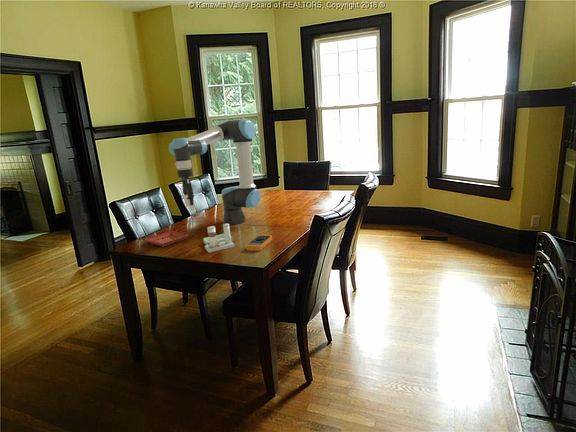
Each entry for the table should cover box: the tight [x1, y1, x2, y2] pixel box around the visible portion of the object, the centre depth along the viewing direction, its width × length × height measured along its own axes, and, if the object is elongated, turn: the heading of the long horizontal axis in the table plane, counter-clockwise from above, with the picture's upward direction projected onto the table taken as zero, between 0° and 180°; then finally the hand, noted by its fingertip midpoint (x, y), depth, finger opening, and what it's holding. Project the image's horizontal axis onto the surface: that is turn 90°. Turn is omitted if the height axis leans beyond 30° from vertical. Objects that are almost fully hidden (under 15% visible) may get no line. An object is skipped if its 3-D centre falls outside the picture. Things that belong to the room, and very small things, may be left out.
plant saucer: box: [145, 230, 189, 248], centre depth 219 cm, size 18×18×3 cm
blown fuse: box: [206, 225, 218, 248], centre depth 197 cm, size 4×4×12 cm
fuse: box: [222, 223, 232, 244], centre depth 200 cm, size 3×3×12 cm
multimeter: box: [245, 234, 273, 252], centre depth 198 cm, size 9×18×3 cm, turn 160°
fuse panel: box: [204, 241, 235, 254], centre depth 200 cm, size 14×8×2 cm, turn 116°
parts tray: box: [202, 233, 234, 246], centre depth 209 cm, size 14×10×2 cm
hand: (190, 208), depth 199 cm, fingers open, 13 cm apart
